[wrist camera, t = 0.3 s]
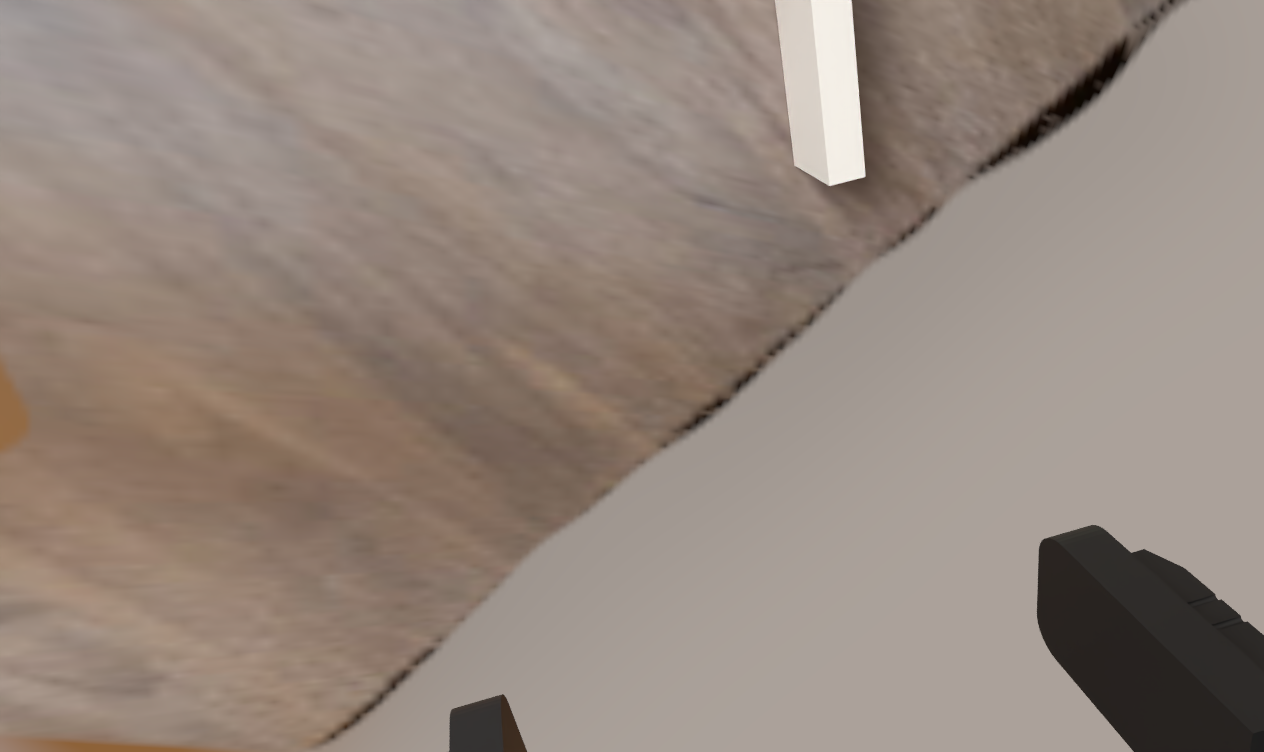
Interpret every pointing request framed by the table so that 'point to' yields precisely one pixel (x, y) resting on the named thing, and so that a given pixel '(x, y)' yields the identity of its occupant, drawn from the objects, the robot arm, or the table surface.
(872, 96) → the table surface
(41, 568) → the table surface
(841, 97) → the low wall
